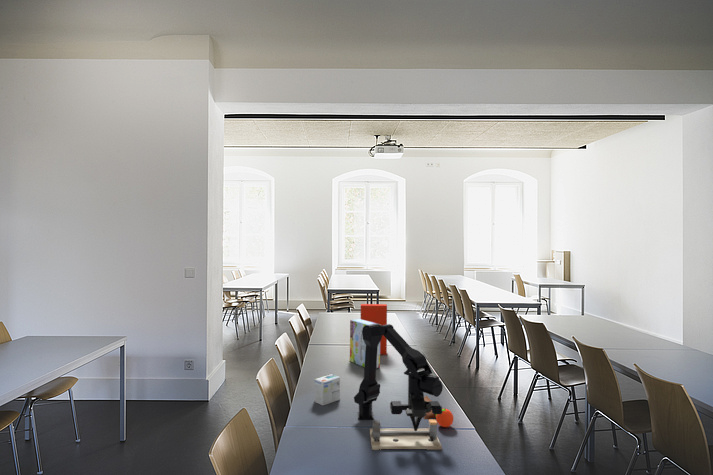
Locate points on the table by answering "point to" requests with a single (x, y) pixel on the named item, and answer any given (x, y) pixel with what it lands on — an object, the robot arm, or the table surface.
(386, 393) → the table surface
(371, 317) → the file binder
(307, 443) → the table surface
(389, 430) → the board
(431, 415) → the sunglasses case
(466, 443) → the table surface
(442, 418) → the clementine
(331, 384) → the light bulb box
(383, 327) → the robot arm
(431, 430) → the slider
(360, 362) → the snack box
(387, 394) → the table surface
